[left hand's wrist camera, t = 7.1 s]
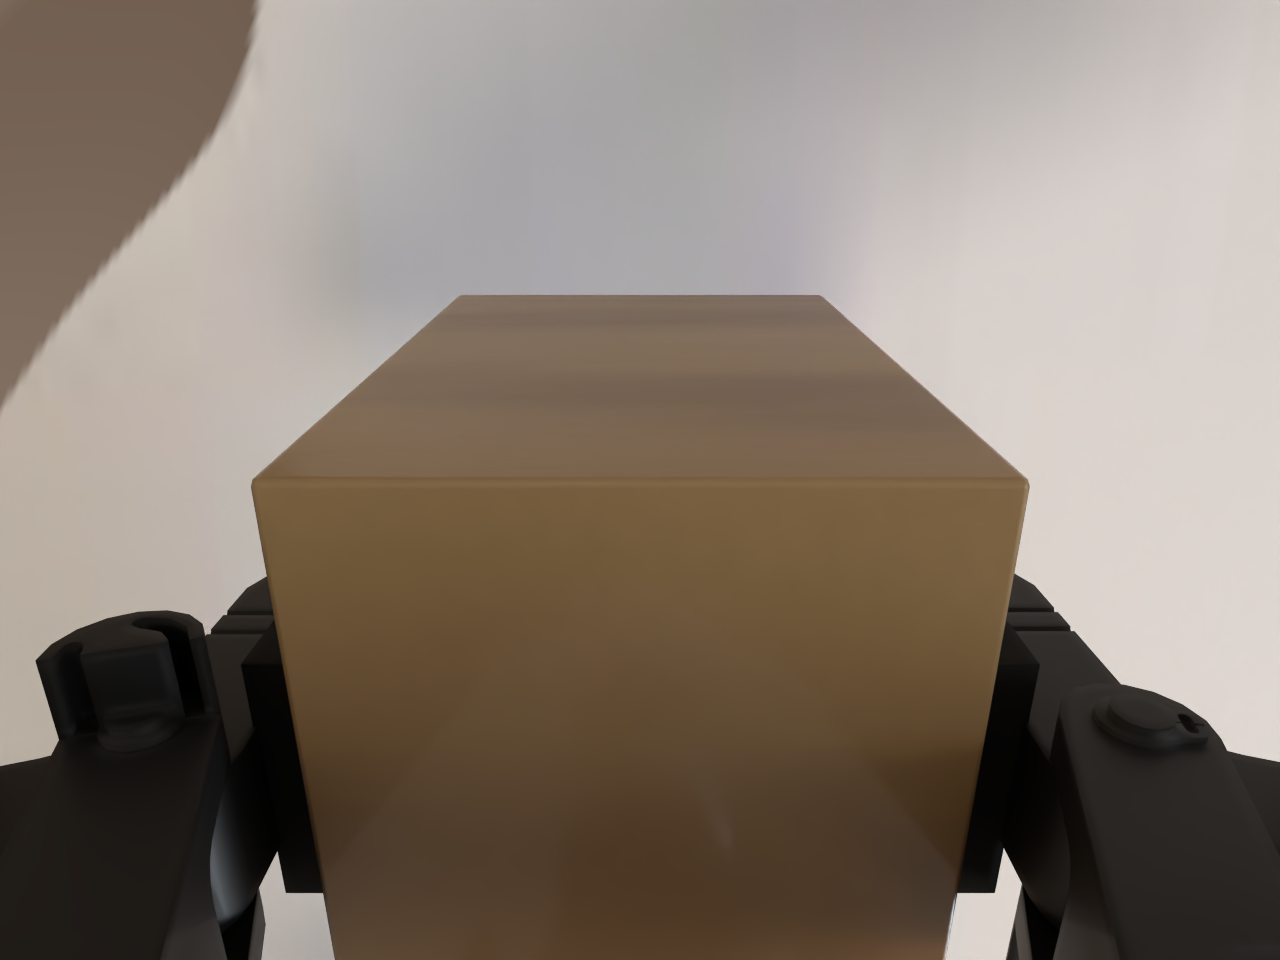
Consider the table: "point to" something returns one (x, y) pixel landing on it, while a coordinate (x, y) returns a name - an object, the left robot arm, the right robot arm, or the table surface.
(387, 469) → the bar
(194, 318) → the table surface
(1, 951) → the left robot arm
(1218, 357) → the table surface
